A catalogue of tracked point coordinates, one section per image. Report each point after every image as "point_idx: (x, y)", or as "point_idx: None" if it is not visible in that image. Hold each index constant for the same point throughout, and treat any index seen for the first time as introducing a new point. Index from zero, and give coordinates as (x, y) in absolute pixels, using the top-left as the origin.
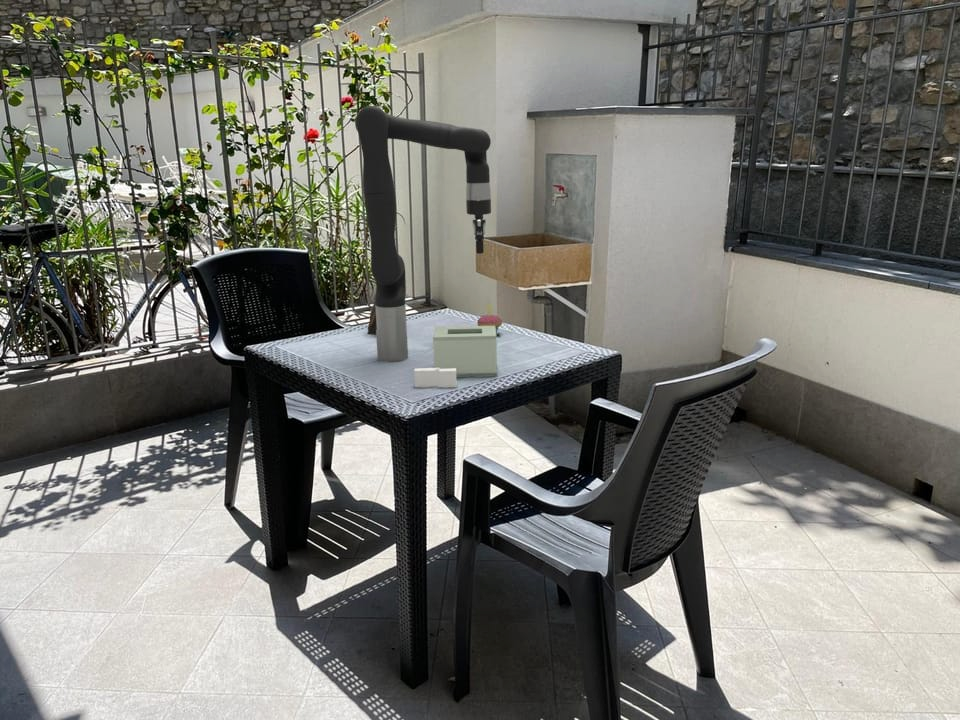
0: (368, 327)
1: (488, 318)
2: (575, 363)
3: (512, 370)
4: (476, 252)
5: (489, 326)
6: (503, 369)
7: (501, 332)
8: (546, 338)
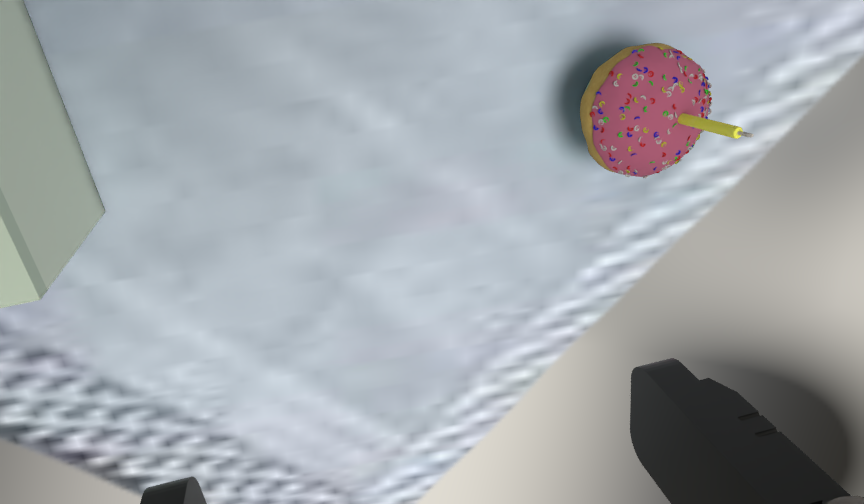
0: None
1: (623, 120)
2: None
3: None
4: (145, 492)
5: (3, 271)
6: None
7: None
8: (540, 343)
